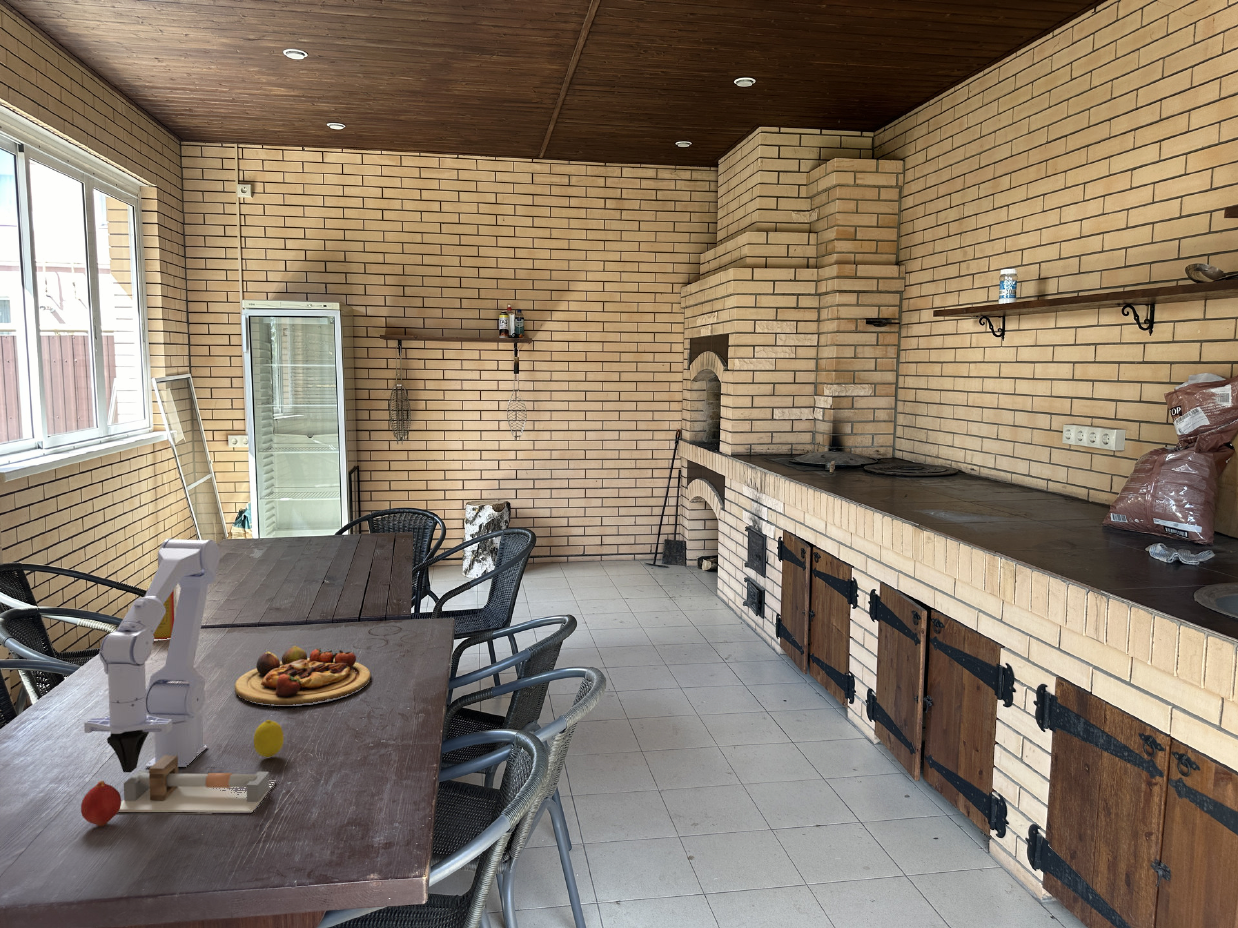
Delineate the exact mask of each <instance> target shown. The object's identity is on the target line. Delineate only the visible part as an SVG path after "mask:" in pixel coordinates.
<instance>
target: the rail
mask: <svg viewBox="0 0 1238 928" xmlns="http://www.w3.org/2000/svg"><path fill="white" fill-rule="evenodd" d="M269 781H270V772H269V771H257V772H256V773H253V774H251V773H250V774H249V773H245V774H244V773H243V774H242V773H233V772H209V773H178V774H177V773H168V774H167V775H166V786H178V787H177V788H176V789H175V790H174V791H173V792H172V793H171V794H170V795H169V796H168V797H167V798H166V799H165V800H150V779H149V770H145V769H143V770H138V771H137V772H135V773H134V774H133V775H132V776H131V777H130V778H128V779H127V780H126V781H125V782H124V783H123V800H121V806H120V810H119V811H118V812H180V811H181V812H183V811H185V812H253V810H254V809H255V808H256V806H257V805H258V804H259V802H260V801H261V800H262V799H263V797H264V796H265V795H266V793H267V792H268V791H267V790H269V787H270V788H271V787H272V786H269V785H271V784H269ZM271 783H274V782H271ZM272 785H273V784H272ZM233 787H234V788H236V787H237V788H239V787H244V788H246V787H247V791H246V792H245V791H237V792H242V793H237V792H235V791H233V790H235V789H233V790H232V789H230V790H229V789H227V788H233ZM213 788H214V789H213ZM216 788H217V789H216ZM219 788H220V789H219ZM224 788H225V789H224ZM220 790H221V791H220ZM222 790H226V791H222ZM231 790H232V791H231ZM238 790H240V789H238ZM241 790H242V789H241ZM243 790H245V789H243ZM231 792H232V793H231ZM234 792H235V793H234ZM244 792H245V793H244ZM237 794H239V795H237ZM236 797H237V798H236ZM246 797H247V798H246Z"/></svg>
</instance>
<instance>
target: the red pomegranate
mask: <svg viewBox="0 0 1238 928" xmlns="http://www.w3.org/2000/svg"><path fill="white" fill-rule="evenodd" d="M121 802H122V796H121V793H120V792H119V791H118V790H117V789H116V787H114V786H113V785H111V784H107V783H105V781H104V780H99V781H98V783H97V784H96V785H94V786H93V787H91V789H90V790H89V791H88V792H87V793H86V794H85V796H84V797H83V799H82V800H81V805H80V814H81V816H82V818H84V819H85V821H87V822H88V823H90V824H93V825H96V826H97V827H104V826H106V825H107V824H108V823H109V822H110V821H111V820H112V819H113V818H114V817H115V816H116V815H118V814H119V813H118V811H119V810H120V806H121Z"/></svg>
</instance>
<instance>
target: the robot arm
mask: <svg viewBox="0 0 1238 928" xmlns="http://www.w3.org/2000/svg"><path fill="white" fill-rule="evenodd" d="M219 549H220V548H219V546H218V544H217V543H216V541H215V540H214V539H206V540H205V539H178V538H176V539H174V538H165V540H164V541H163V542H162V543H161V545H160V546H159V550H158V551H157V564H158V568H157V570H156V572H155V573H154V575H153V578H152V580H151V581H152V582H151V581H150V582H151V584H150V583H149V584H150V586H149V585H148V586H149V588H148V587H147V588H148V590H146V592H145V595H144V596H143V597H138V598H136V599H135V600H134V601H133V603H132V604H131V606H130V608H129V609H128V611H127V613H126V614H125V616H124V617H123V619H122V620H121V623H120V624H119V626H118V627H117V629H116V631H115V630H114V631H112V632H110V633H109V634H107V635H106V636H105V637H104V638H103V639H102V642H101V644H100V650H99V652H98V656H99V659H100V661H101V663H102V665H103V670H104V673H105V675H107V679H108V684H107V685H108V707H109V708H108V709H109V711H108V713H109V716H105V717H93V718H89V719H88V720H86V721H84V723H83V725H84V733H85V734H87V733H88V734H90V733H92V732H109V733H110V735H109V736H108V737H107V739H106V741H107V744H108V745H109V746H110V747H111V748H112V750H113V751H114V753H115V755H116V756H117V759H118V761H119V764H120V766H121V769H122V773H133V771H135V770H136V769H137V768H138V762H139V757H140V754H141V751H142V748H143V745H144V743H145V741H146V739H147V737H148V735H149V733H154V737H153V739H154V757H153V758H152V759H151V760H149V761H148V762H147V763H146V764H145V768H149V767H151V766H153V765H154V764H155V763H156V762H157V761H158V760H160V759H161V758H162V757H163V756H164V755H178V767H186V766H187V765H189V763H191V761H192V760H193V759H194V758H193V757H196V756H198V755H197V754H200V753H196V752H198V750H199V749H200V748H201V747H205V748H206V747H207V746H206V745H207V744H204V720H203V715H202V713H201V710H202V709H203V706H204V704H205V699H206V691H205V686H206V678H205V676H204V675H203V674H201V672H200V671H198V670H197V669H196V668H195V667H194V665H195V660H196V656H197V655H196V654H197V649H198V644H199V640H200V635H201V634H200V633H201V629H202V624H203V618H204V614H205V609H206V608H205V607H206V603H207V598H208V593H209V587H210V584H212V583H214V582H216V578H217V576H218V575H217V574H218V571H219V570H218V569H219V564H220V559H221V553H220V550H219ZM178 585H179V588H180V590H179V596H178V601H177V610H176V615H175V620H174V624H173V629H172V634H171V639H170V640H169V645H168V650H167V655H166V660H165V664H164V665H163V667H161V668H160V669H158V670H157V671H155V672H154V673H152V674H151V675H150V676H149V677H150V678H149V682H148V685H146V684H147V683H146V662H147V661H148V659H149V658H150V657H151V653H152V650H153V643H154V642H155V641H154V636H153V634H154V632H155V631H156V629H157V627H158V625H159V624H160V622H161V620H162V618H163V617H164V615H165V613H166V609H165V607H164V605H163V604H164V603H165V601H166V600H167V598H168V597H169V596H170V594H171V593H172V591H173V590H174V588H175V587H176V588H177V586H178ZM173 682H175V683H173ZM179 682H183V683H179ZM184 682H187V683H184ZM203 745H205V746H203ZM202 750H204V749H202ZM201 752H202V751H201ZM200 755H201V754H200ZM198 757H199V756H198ZM191 764H192V763H191ZM189 766H190V765H189ZM186 768H187V767H186Z"/></svg>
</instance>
